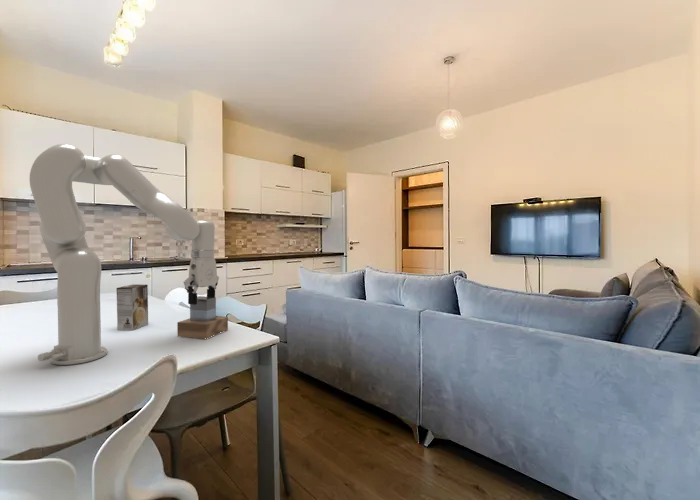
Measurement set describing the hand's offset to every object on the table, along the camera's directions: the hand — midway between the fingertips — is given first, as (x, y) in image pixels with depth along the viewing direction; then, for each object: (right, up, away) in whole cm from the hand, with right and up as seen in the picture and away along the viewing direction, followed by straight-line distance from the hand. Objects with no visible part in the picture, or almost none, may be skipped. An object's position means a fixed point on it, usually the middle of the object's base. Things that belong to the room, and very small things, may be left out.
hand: (202, 301), depth 121 cm
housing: (0, -7, 0) cm, 7 cm away
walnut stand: (0, -12, +1) cm, 12 cm away
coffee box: (-30, -11, +8) cm, 33 cm away
